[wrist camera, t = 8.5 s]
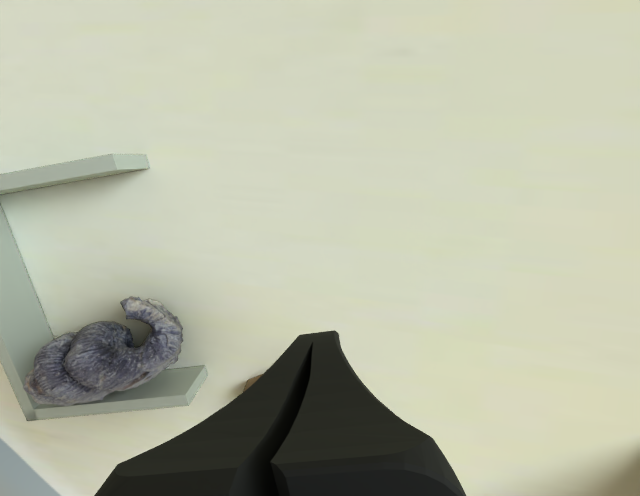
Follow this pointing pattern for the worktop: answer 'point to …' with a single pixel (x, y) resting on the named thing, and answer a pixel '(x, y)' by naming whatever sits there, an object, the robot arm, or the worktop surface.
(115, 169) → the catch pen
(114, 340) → the seashell
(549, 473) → the worktop surface
